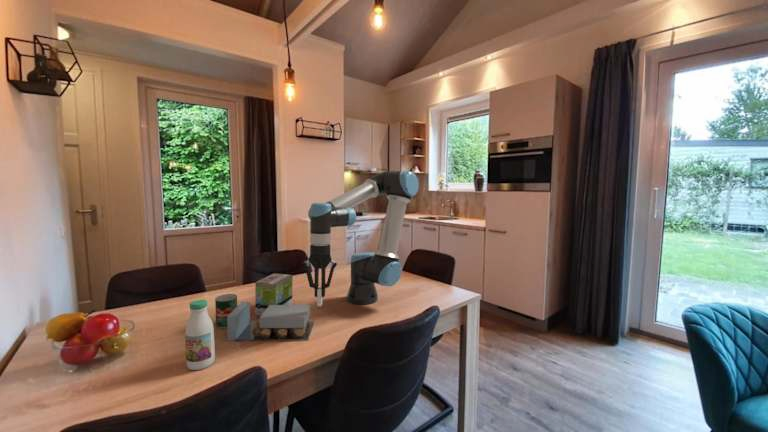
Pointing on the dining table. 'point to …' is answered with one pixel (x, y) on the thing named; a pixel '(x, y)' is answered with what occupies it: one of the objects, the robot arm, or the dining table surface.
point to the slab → (285, 316)
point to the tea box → (273, 292)
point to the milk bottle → (199, 337)
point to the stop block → (238, 320)
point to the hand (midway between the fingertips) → (319, 304)
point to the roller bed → (276, 333)
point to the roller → (257, 330)
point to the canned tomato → (224, 308)
